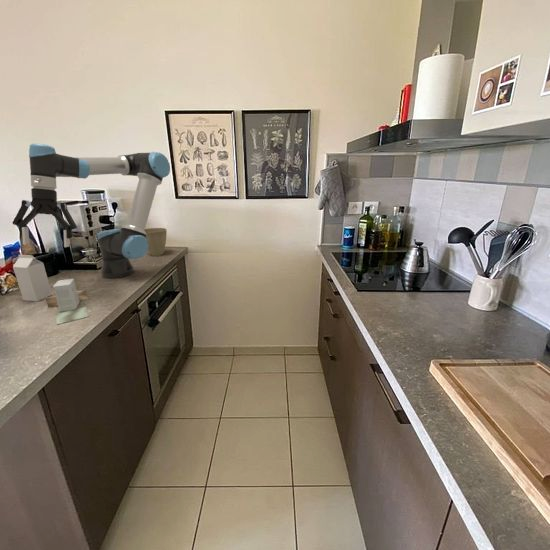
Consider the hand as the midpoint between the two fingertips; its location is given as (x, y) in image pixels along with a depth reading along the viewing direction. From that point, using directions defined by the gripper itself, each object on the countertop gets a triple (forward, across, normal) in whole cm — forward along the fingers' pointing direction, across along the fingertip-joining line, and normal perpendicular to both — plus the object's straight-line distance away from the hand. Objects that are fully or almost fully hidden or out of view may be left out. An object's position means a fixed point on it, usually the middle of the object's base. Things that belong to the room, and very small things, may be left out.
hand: (46, 245), depth 116 cm
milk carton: (+24, -9, +12) cm, 29 cm away
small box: (+24, +8, -2) cm, 25 cm away
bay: (+24, +10, -6) cm, 27 cm away
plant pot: (+11, +30, +71) cm, 78 cm away
